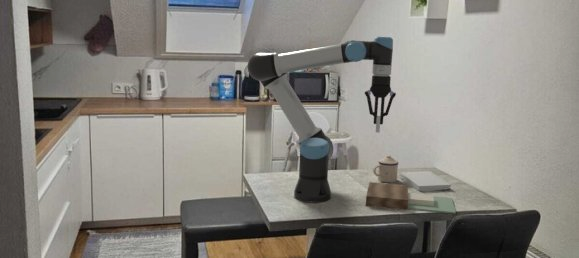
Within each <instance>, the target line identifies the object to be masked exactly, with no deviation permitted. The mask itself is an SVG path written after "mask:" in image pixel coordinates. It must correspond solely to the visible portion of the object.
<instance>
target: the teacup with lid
mask: <svg viewBox="0 0 579 258" xmlns="http://www.w3.org/2000/svg"><path fill="white" fill-rule="evenodd" d="M398 168H399V161H398V160H396V159H394V158H392V155H387V156H386V157H384V158H380V159H378V165H374V167H373V174H374V175H375V176H377V180H378V181H379V182H381V183H386V184H394V183H396V182H397V181H398V171H399V170H398ZM377 169H378V173H376V170H377Z"/></svg>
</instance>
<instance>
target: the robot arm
mask: <svg viewBox="0 0 579 258" xmlns="http://www.w3.org/2000/svg"><path fill="white" fill-rule="evenodd" d="M393 49H394V40H393V38H392V37H390V36H375V37H374V40H372V41H368V40H367V41H365V40H346V41H345V42H344V43H338V44H333V45H327V46H322V47H316V48H315V47H314V48H310V49H309V48H308V49H303V50H298V51H290V52H284V53H278V52H273V51H269V50H268V51H262V52H257V53H255V54H253V55H252V56H251V57H250V58H249V60H248V62H247V71H248V74H249V75H250V77H251V78H252V79H253V80H256V81H259V82H260V83H261V85H262V86H263V88H264V89H266V90H269V92H271V94H272V96H273V98H274V99H275V101H276V102H277V104H278V105H279V108H280V109H281V110H282V112H283V114H284V115H285V117H286V118H287V120H288V122H289V123H290V125H291V127H292V128H293V130H294V132H295V133H296V135H297V137H298V141H297V144H298V145H299V165H298V167H299V169H298V172H299V174H298V179H297V182H296V185H295V188H294V191H293V193H294V194H293V198H295V199H296V200H298V201H302V202H306V203H323V202H327V201H329V200H331V199H332V191H331V188H330V184H329V180H328V179H329V177H328V175H329V162H330V159H331V158H332V157H333V154H334V145H333V144H334V143H333V142H332V140H331V138H329V137H328V136H327V135H326V134H325V132H324V131H323V129H322V128H321V127H318V126H316V125H315V123H314V121H313V120H312V118H311V116H310V114H309V113H308V112H307V110H306V109H305V106H304V105H303V103H302V102H301V100H300V98H299V96H297V94H296V92H295V90H294V88H293V87H292V86H291V84H290V82H289V81H288V73H293V72H297V71H298V72H299V71H304V70H311V69H317V68H324V67H328V66H334V65H341V64H346V63H347V64H349V63H357V62H360V61H363V60H365V61H372V72H371V73H372V74H373V75H372V77H371V85H370V88H369V89H367V90H365V91H364V95H365V96H366V100H367V105H368V110H369V115H371V116H373V124H374V125H375V133H378V134H379V133H380V131H381V125H383V124H384V117H387V116H388V115H389V112H390V109H391V105H392V102H393V101H394V98H395V97H396V96H397V93H396V92H394V91H392V89H391V88H392V87H391V81H392V80H391V78H392V77H391V75H392V63H393V62H392V61H393ZM371 94H372V96H373V97H374V110H373V105H372V99H371ZM388 95H389V100H388V104H387V106H386V109H385V99H386V97H388ZM379 99H381V100H380V101H381V102H380V115H378V108H379Z"/></svg>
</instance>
